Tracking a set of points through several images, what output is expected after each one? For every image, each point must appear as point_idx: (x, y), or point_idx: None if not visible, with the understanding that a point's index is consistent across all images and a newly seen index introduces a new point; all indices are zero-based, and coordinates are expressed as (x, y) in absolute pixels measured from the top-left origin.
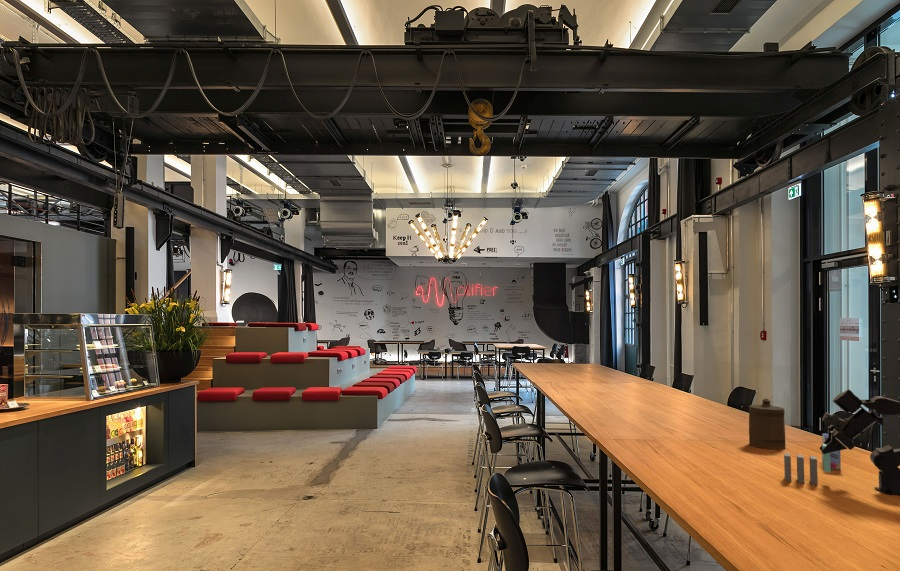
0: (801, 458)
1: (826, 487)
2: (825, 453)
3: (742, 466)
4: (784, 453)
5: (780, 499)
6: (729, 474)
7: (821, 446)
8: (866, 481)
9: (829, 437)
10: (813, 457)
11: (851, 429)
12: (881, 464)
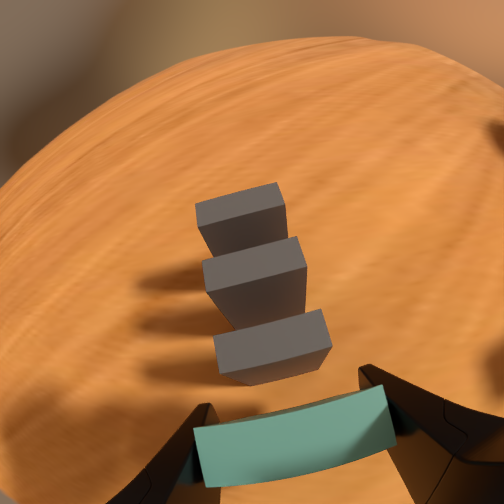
0: (207, 282)
1: (230, 420)
2: None
3: (332, 138)
4: (266, 186)
5: (28, 296)
6: (199, 146)
7: (368, 381)
8: None
9: (461, 468)
10: (273, 344)
11: None
12: None
